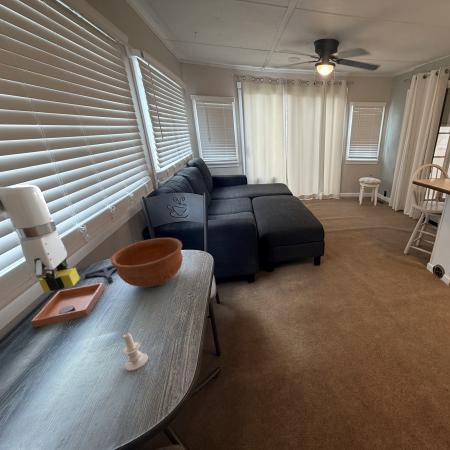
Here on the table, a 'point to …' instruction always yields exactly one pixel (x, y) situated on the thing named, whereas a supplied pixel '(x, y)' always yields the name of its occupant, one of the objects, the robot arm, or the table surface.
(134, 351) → the chess piece
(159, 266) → the bowl
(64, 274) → the sponge
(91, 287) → the pan
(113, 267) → the bracket
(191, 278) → the table surface
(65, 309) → the food scrap
